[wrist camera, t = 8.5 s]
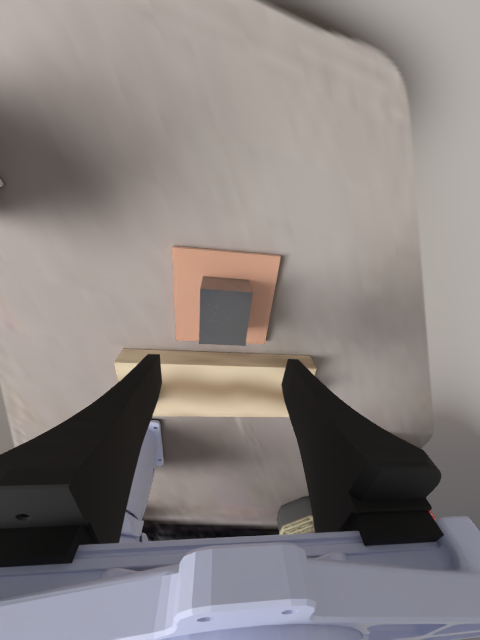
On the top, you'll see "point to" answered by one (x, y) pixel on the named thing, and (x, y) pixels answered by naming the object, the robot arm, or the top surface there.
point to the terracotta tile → (225, 265)
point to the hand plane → (217, 382)
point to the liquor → (296, 517)
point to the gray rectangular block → (224, 310)
